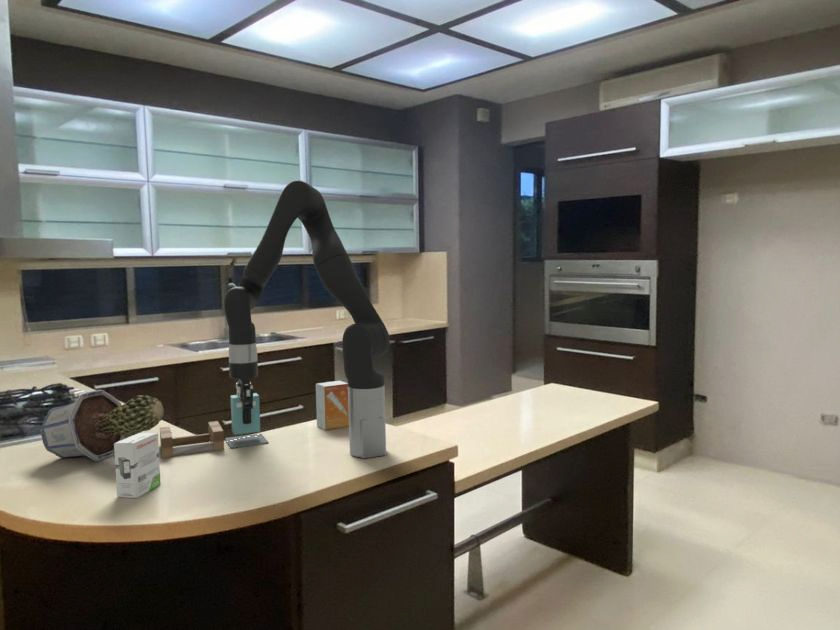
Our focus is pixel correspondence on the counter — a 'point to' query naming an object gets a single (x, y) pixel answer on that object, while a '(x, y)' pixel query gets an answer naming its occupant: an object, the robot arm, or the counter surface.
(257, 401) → the teal box
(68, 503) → the counter surface
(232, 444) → the mat
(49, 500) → the counter surface
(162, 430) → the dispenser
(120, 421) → the potted plant
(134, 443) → the ink box
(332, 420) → the small box
